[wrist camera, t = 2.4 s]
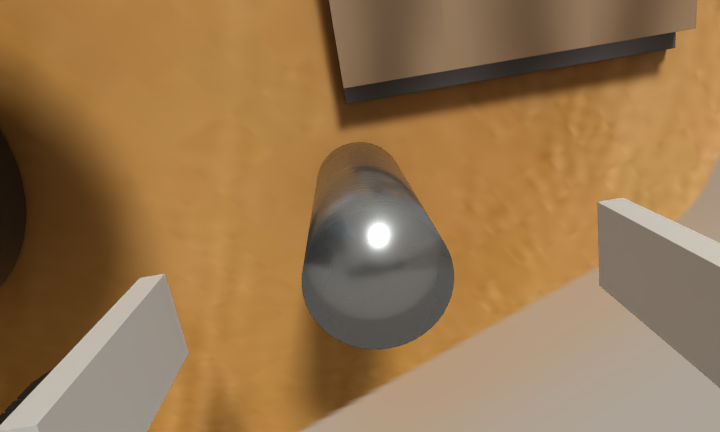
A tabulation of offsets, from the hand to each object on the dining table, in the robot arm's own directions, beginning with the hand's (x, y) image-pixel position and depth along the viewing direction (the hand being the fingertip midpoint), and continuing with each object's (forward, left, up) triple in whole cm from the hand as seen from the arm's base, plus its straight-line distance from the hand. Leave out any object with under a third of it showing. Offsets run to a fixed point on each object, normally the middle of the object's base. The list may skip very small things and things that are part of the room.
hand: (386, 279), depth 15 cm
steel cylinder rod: (0, 0, -11) cm, 11 cm away
